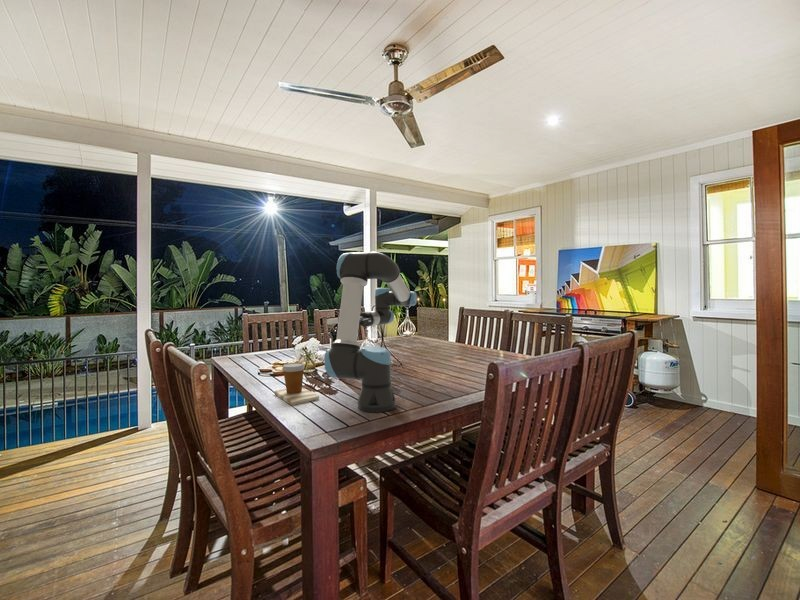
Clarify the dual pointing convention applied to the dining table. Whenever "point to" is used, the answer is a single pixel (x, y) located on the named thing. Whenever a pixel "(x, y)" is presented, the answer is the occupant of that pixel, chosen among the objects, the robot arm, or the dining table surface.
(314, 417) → the dining table surface
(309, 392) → the serving board
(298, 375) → the disposable coffee cup
